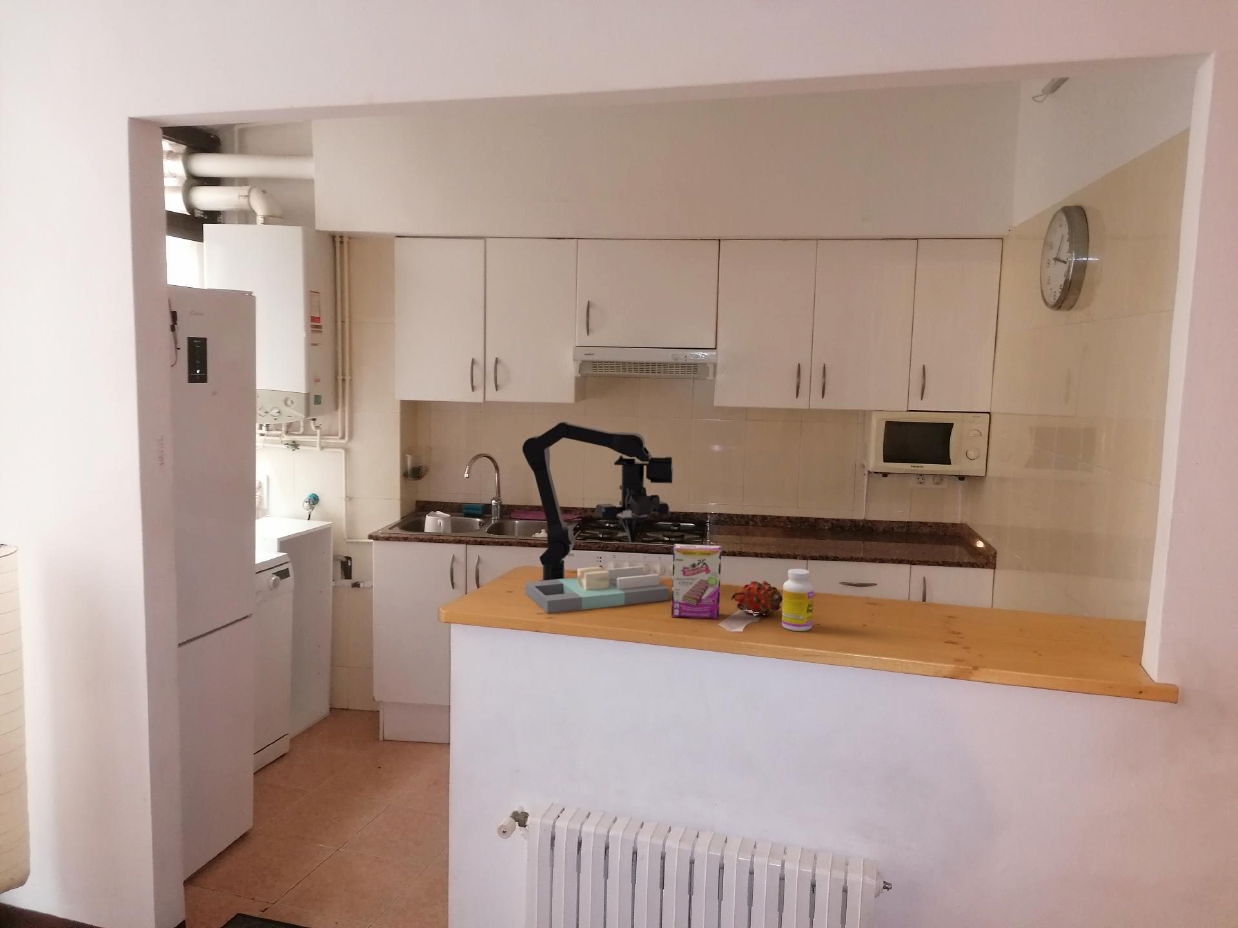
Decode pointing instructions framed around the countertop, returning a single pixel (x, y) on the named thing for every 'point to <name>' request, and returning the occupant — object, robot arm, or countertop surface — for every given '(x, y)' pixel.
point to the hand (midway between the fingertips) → (632, 542)
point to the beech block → (593, 578)
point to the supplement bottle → (797, 601)
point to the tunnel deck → (598, 591)
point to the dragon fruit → (758, 598)
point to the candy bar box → (696, 581)
